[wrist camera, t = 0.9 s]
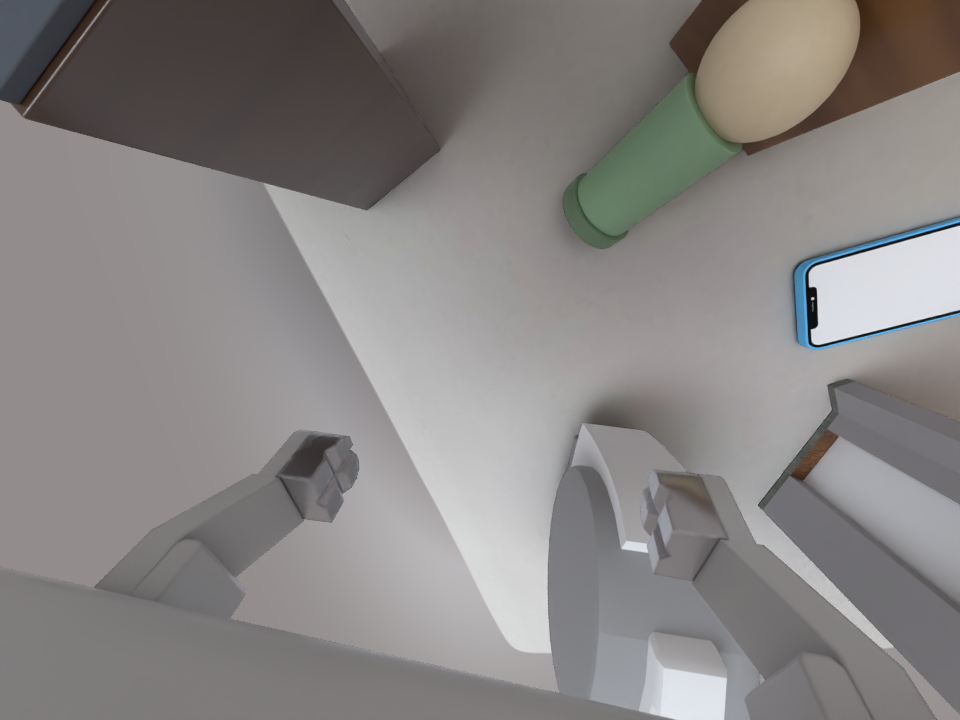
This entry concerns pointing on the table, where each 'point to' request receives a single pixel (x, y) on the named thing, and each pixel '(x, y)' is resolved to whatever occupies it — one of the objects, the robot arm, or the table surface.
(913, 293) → the smartphone
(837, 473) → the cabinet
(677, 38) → the wooden block
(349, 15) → the pedestal
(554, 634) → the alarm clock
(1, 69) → the mat
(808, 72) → the toy
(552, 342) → the table surface
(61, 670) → the robot arm
